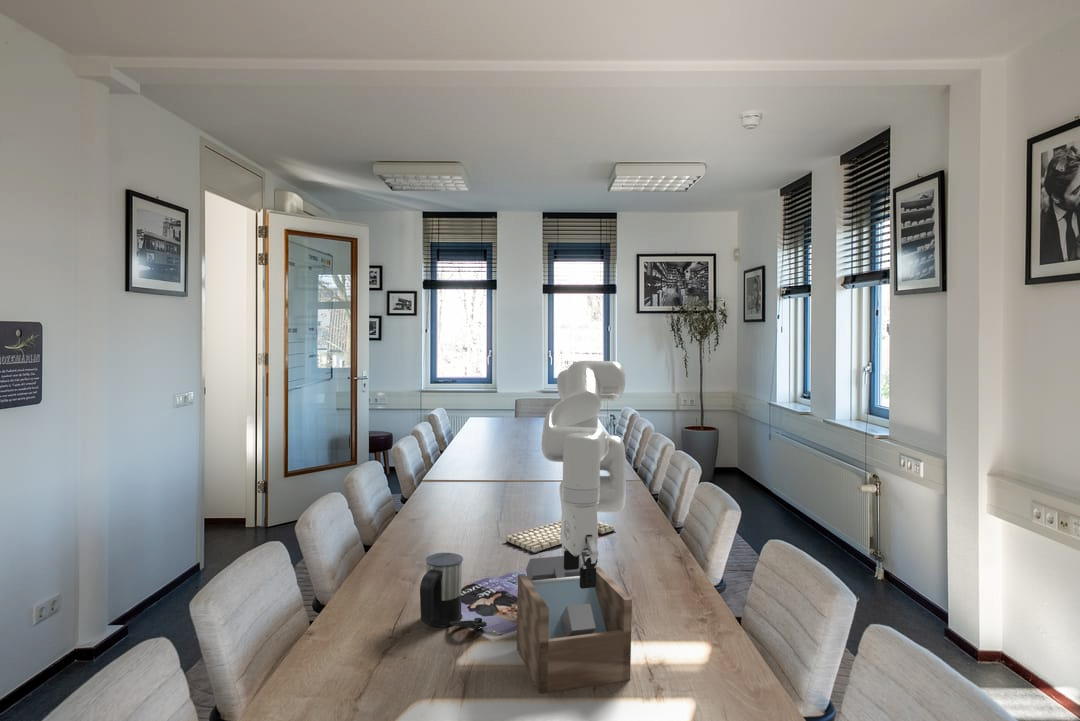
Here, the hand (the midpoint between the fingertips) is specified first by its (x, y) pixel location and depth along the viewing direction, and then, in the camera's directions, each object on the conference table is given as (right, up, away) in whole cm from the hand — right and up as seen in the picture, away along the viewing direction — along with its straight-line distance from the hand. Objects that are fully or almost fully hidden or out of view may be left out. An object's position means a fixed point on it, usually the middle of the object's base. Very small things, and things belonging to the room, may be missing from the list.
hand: (579, 578), depth 128 cm
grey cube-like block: (-1, -12, +3) cm, 12 cm away
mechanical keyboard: (-1, -17, +87) cm, 88 cm away
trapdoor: (-4, -11, +12) cm, 17 cm away
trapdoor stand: (-1, -20, +5) cm, 20 cm away
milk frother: (-28, -19, +22) cm, 40 cm away
